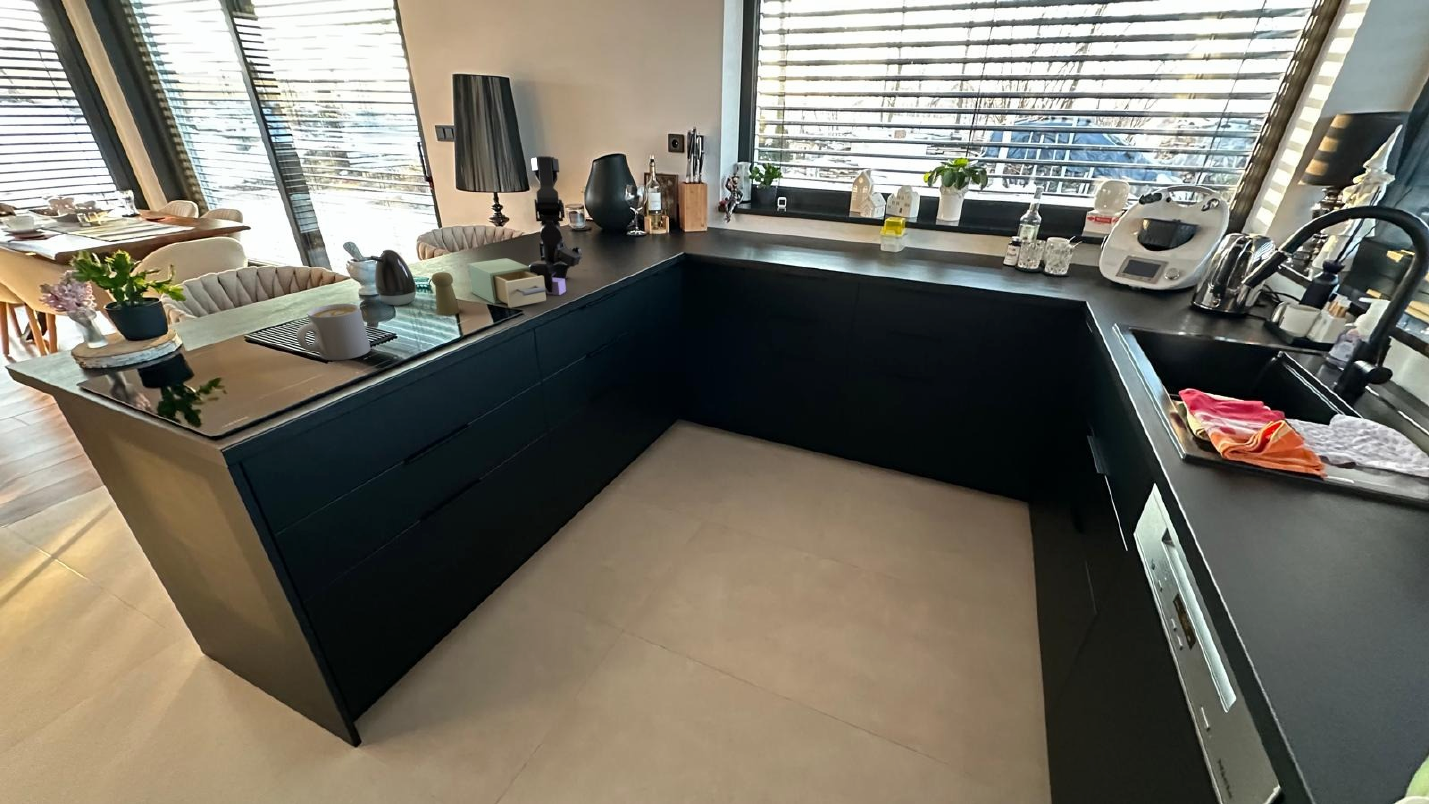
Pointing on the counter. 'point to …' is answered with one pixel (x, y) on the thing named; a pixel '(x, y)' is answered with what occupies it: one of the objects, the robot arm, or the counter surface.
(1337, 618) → the counter surface
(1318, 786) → the counter surface
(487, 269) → the green drawer cabinet
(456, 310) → the pepper mill
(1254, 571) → the counter surface
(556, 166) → the robot arm
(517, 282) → the drawer
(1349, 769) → the counter surface
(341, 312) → the coffee mug
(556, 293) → the soap block
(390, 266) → the pump dispenser
